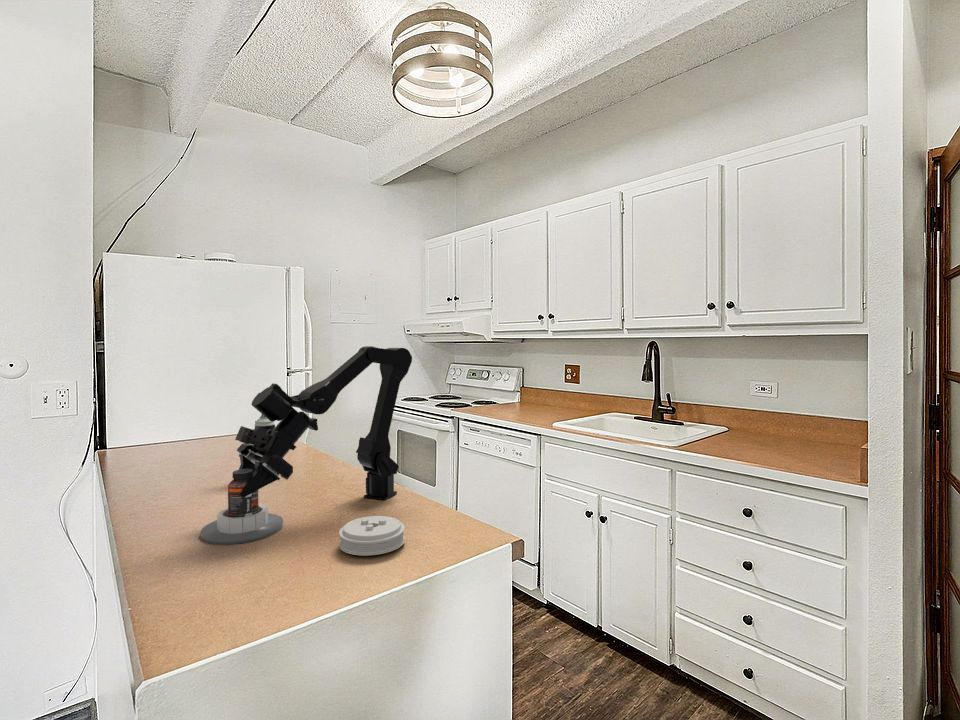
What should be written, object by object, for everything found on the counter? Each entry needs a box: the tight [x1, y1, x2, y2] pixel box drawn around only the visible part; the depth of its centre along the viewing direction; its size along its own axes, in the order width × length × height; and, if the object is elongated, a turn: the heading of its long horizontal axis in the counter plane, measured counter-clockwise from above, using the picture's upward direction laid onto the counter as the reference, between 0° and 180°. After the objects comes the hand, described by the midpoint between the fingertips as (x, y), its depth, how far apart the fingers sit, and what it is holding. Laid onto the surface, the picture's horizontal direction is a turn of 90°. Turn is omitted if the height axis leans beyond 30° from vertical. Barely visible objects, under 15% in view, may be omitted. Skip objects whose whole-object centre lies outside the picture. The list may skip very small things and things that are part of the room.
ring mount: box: [200, 504, 284, 546], centre depth 109 cm, size 16×16×4 cm
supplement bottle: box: [227, 469, 260, 518], centre depth 109 cm, size 6×6×11 cm
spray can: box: [254, 414, 276, 431], centre depth 148 cm, size 6×6×20 cm
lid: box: [338, 515, 406, 557], centre depth 100 cm, size 13×13×5 cm
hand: (236, 492), depth 108 cm, fingers closed on supplement bottle, 6 cm apart
